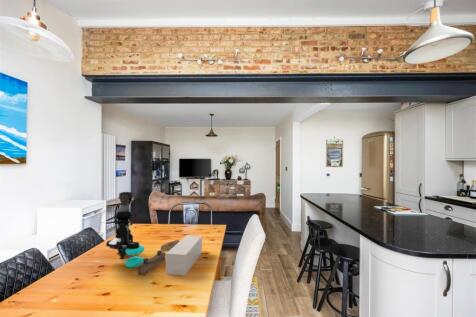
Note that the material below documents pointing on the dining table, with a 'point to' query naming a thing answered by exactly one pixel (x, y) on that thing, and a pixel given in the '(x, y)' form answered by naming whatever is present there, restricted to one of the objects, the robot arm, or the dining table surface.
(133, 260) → the donuts
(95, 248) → the dining table surface
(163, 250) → the wooden fragment
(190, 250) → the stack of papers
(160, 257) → the bar
